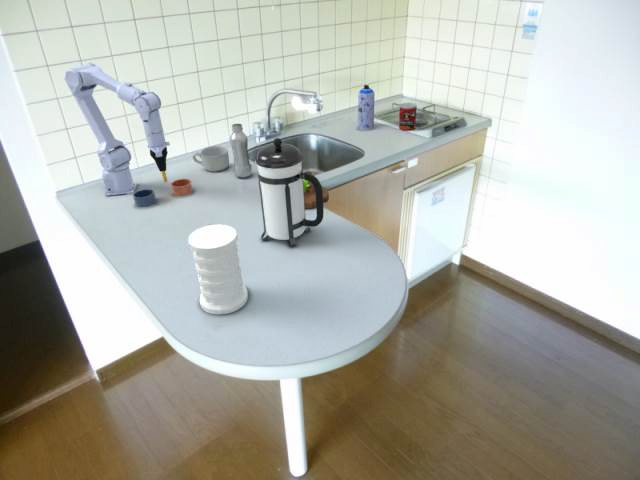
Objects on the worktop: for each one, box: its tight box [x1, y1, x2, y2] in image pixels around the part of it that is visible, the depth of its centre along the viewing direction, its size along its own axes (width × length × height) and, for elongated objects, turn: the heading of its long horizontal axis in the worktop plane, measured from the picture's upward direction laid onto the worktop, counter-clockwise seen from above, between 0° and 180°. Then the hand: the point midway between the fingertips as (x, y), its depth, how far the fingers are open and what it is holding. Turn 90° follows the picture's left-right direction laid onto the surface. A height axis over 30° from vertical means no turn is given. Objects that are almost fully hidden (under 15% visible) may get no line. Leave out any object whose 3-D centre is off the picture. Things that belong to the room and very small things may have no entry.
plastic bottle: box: [229, 123, 253, 178], centre depth 174 cm, size 6×7×20 cm
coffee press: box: [254, 137, 325, 248], centre depth 131 cm, size 17×16×30 cm
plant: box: [303, 170, 330, 210], centre depth 158 cm, size 20×20×11 cm
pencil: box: [161, 171, 168, 183], centre depth 161 cm, size 1×1×8 cm
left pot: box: [132, 188, 158, 208], centre depth 161 cm, size 7×7×4 cm
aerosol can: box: [357, 84, 376, 132], centre depth 218 cm, size 8×8×20 cm
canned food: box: [398, 102, 418, 132], centre depth 218 cm, size 8×8×11 cm
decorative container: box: [187, 223, 249, 315], centre depth 109 cm, size 12×12×18 cm
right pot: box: [170, 178, 194, 197], centre depth 167 cm, size 7×7×4 cm
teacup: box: [192, 145, 230, 173], centre depth 184 cm, size 14×11×8 cm
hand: (162, 169), depth 160 cm, fingers closed on pencil, 1 cm apart
